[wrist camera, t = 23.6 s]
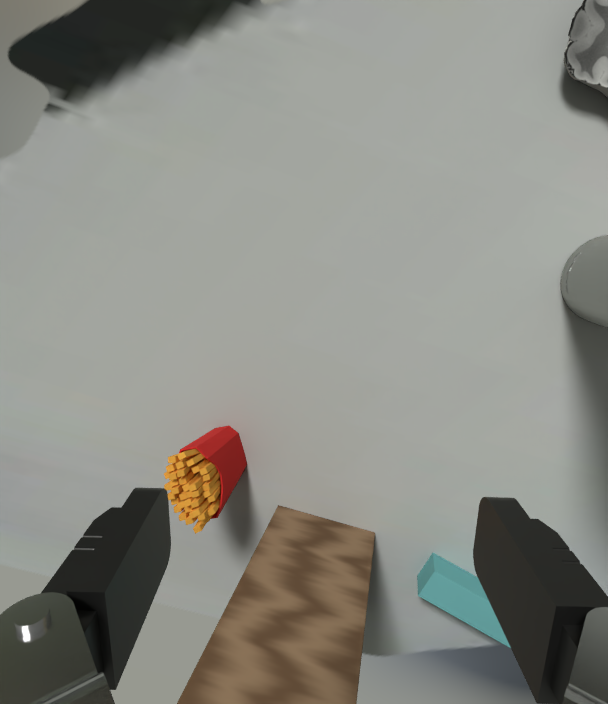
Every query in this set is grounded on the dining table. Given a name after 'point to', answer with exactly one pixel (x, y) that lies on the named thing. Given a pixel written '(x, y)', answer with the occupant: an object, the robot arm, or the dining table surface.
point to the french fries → (205, 475)
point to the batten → (459, 596)
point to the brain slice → (589, 45)
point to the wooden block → (291, 619)
